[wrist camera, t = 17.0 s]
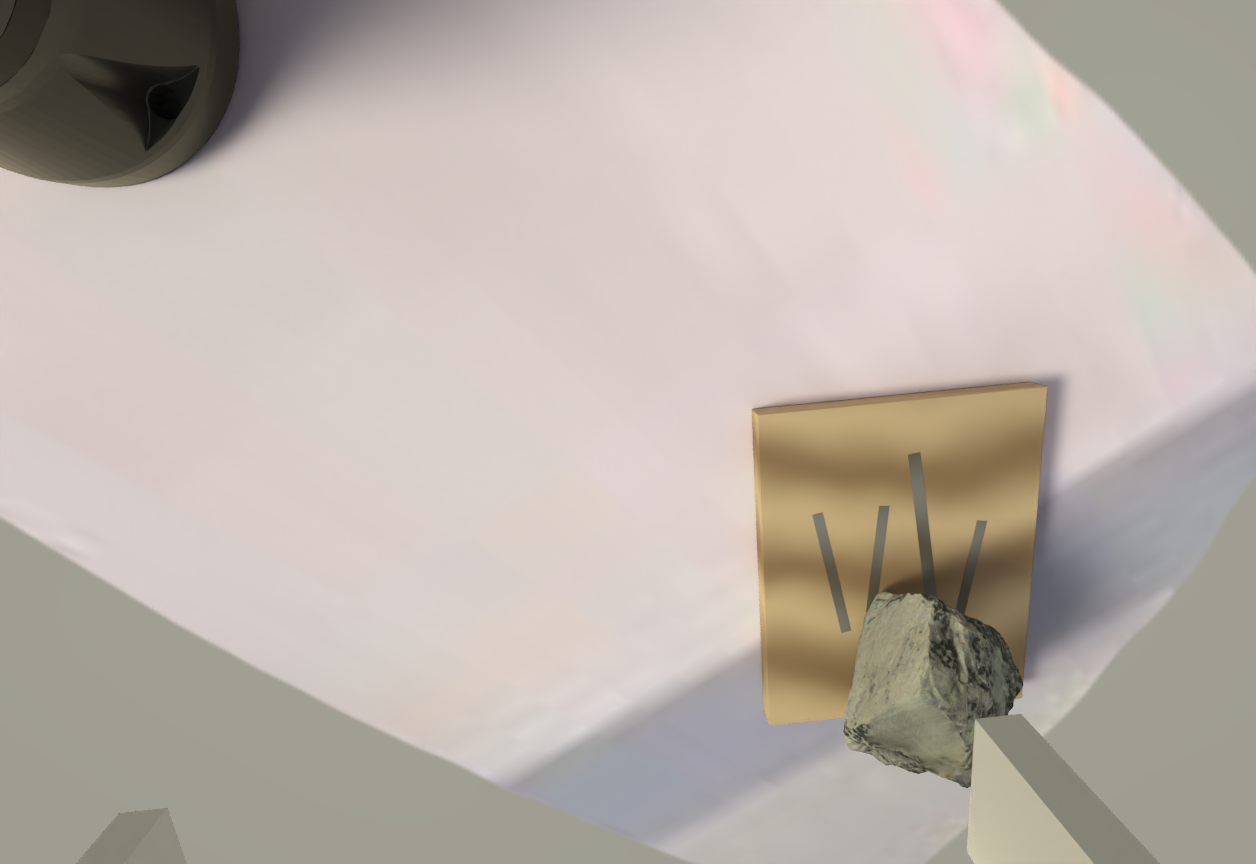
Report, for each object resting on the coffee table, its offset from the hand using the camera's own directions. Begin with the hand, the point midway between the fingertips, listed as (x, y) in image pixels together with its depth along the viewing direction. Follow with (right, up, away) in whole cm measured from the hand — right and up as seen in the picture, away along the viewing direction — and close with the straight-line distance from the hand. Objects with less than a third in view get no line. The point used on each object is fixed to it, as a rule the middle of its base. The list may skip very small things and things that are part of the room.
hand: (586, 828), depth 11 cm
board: (+17, -1, +29) cm, 33 cm away
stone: (+16, -6, +29) cm, 34 cm away
